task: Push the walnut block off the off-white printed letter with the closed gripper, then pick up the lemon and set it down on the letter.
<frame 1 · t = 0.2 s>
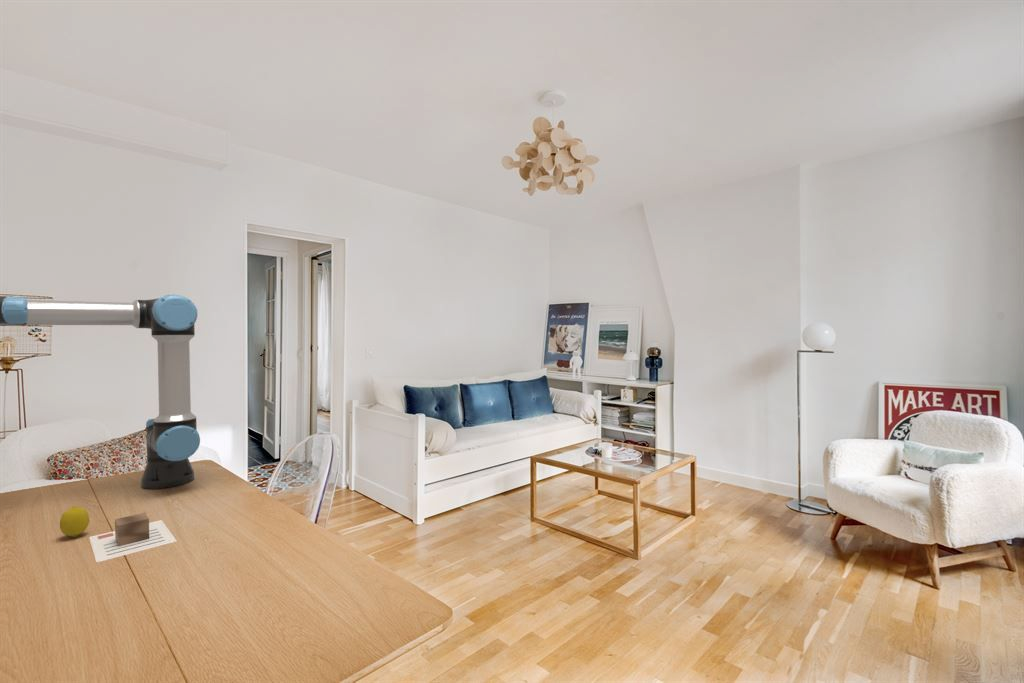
walnut block: (132, 538, 119), resting on letter
lemon: (75, 538, 121), on the table
letter: (132, 539, 119), on the table
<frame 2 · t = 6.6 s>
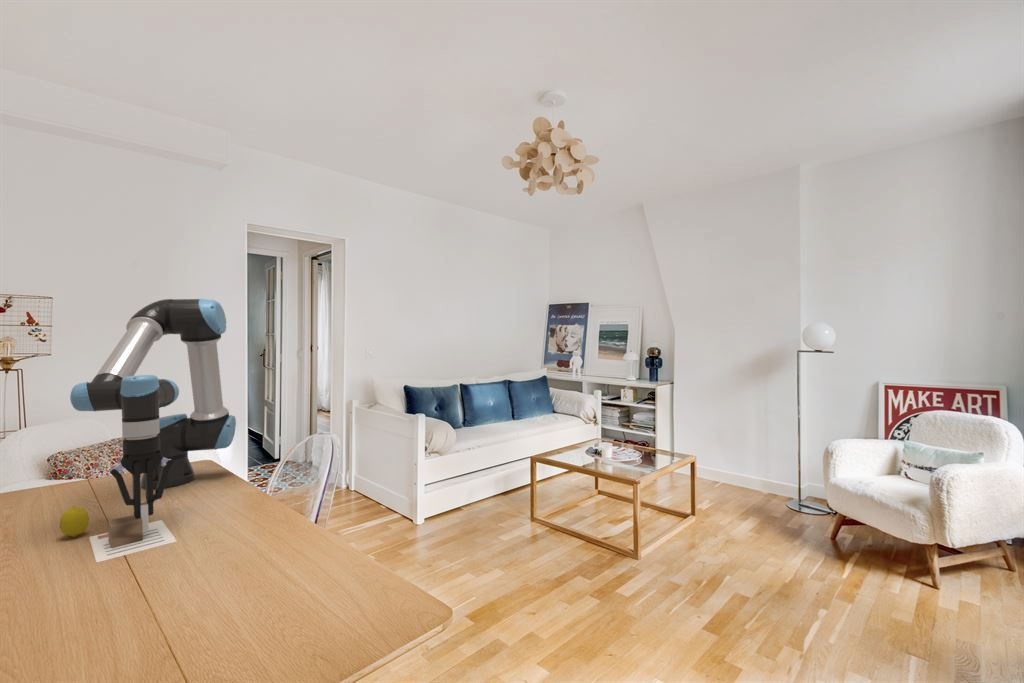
hand: (144, 529, 121), 2 cm above the table, fingers closed
walnut block: (125, 540, 118), resting on letter, touching gripper
everything else where it was.
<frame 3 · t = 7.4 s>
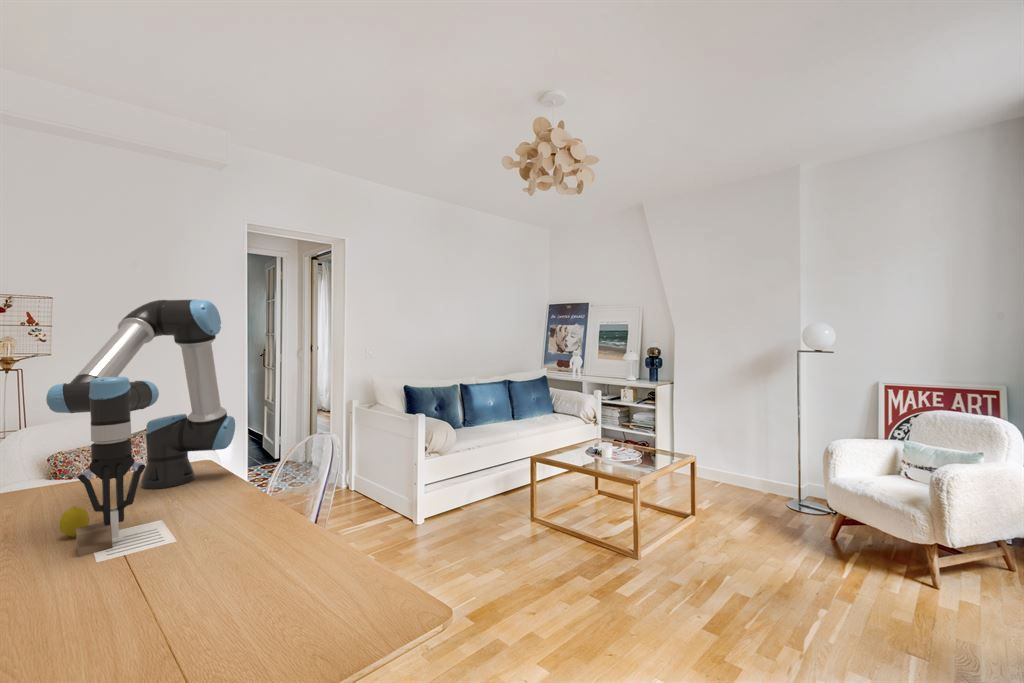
hand: (114, 536, 117), 2 cm above the table, fingers closed
walnut block: (94, 548, 114), on the table, touching gripper
everything else where it was.
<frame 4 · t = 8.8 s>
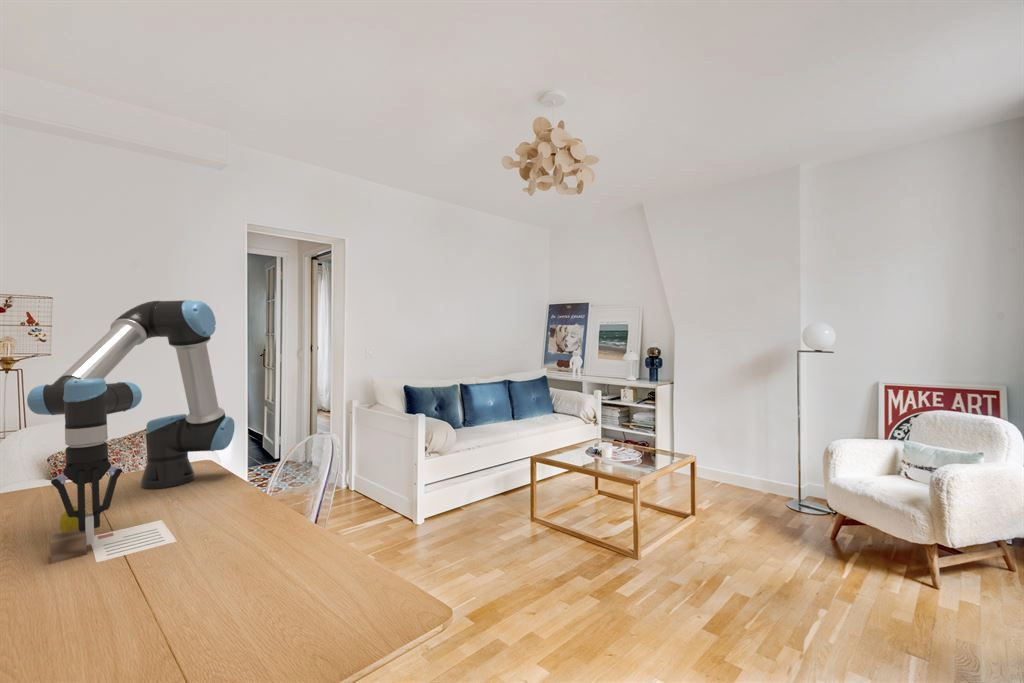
hand: (89, 542, 114), 2 cm above the table, fingers closed
walnut block: (68, 556, 111), on the table, touching gripper
everything else where it was.
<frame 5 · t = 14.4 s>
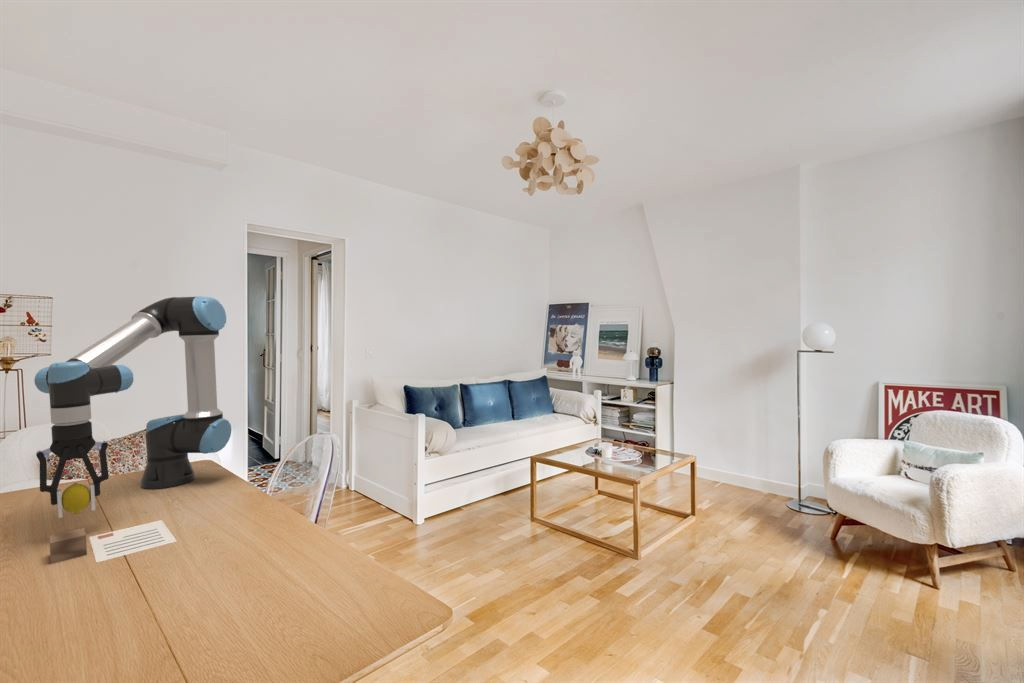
hand: (77, 512, 122), 6 cm above the table, fingers closed on lemon, 5 cm apart
walnut block: (68, 556, 111), on the table
lemon: (77, 514, 122), point 6 cm above the table, touching gripper
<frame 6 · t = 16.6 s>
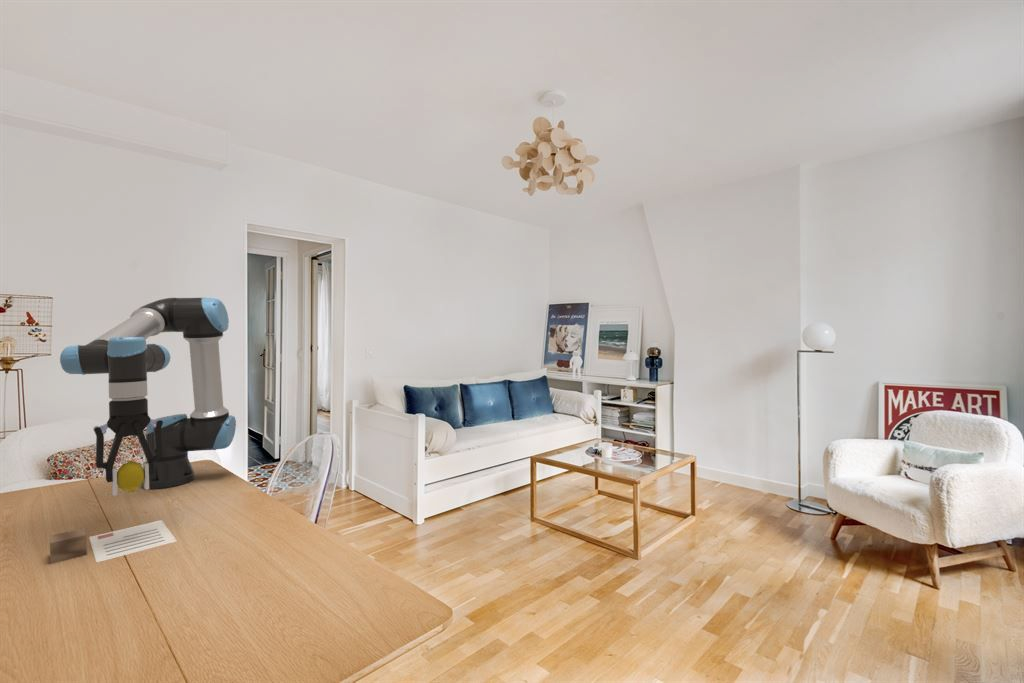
hand: (130, 491, 119), 12 cm above the table, fingers closed on lemon, 5 cm apart
lemon: (131, 493, 119), point 12 cm above the table, touching gripper
everything else where it was.
when the fingers open (1 cm above the table, at t = 18.7 s): lemon stays where it is, resting on letter.
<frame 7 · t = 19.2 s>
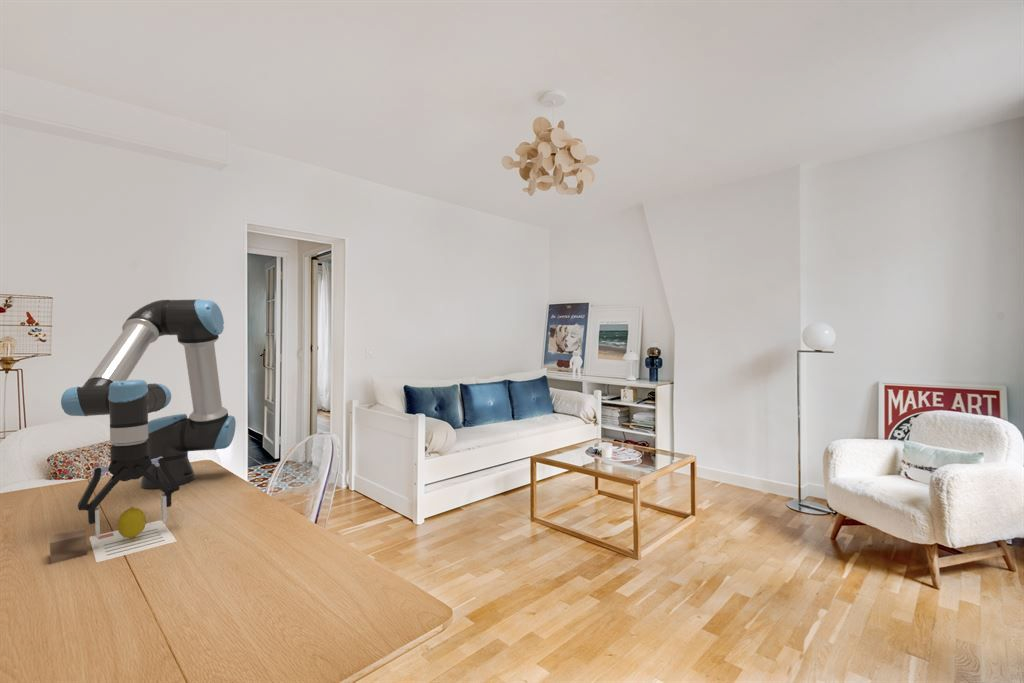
hand: (132, 527, 119), 3 cm above the table, fingers open, 12 cm apart
lemon: (132, 539, 119), resting on letter
everything else where it was.
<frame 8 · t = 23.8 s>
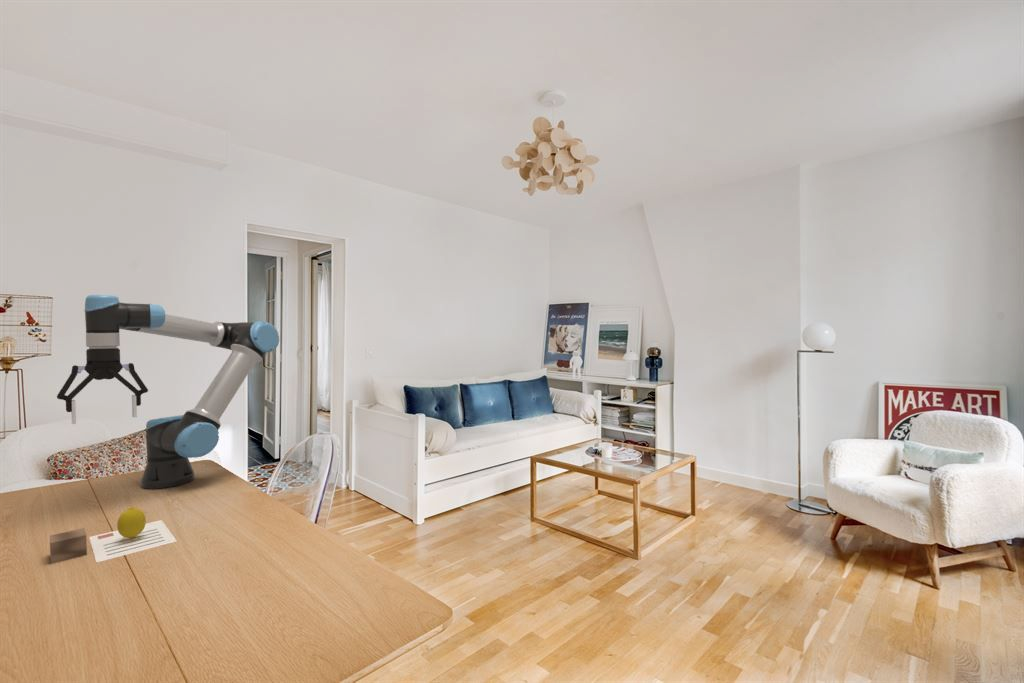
hand: (105, 420, 140), 27 cm above the table, fingers open, 13 cm apart
nothing on the table moved.
at the end: lemon inside the target area on the letter (0.1 cm from its centre), point 0.0 cm above the letter's base; walnut block touching table; the gripper is holding nothing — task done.
